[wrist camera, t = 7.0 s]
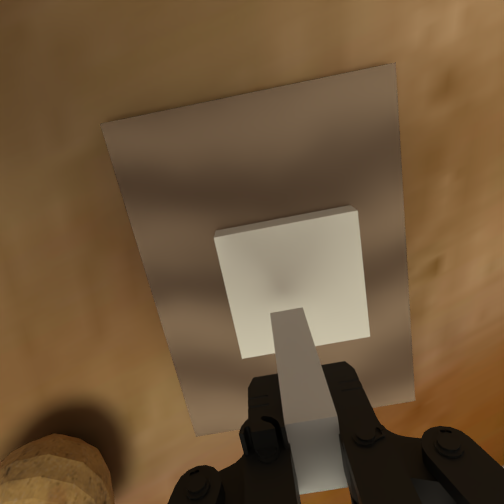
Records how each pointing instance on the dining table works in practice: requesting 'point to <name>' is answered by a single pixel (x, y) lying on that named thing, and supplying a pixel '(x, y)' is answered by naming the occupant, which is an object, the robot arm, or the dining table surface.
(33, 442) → the potato
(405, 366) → the board
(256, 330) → the tile
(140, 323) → the dining table surface
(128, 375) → the dining table surface
